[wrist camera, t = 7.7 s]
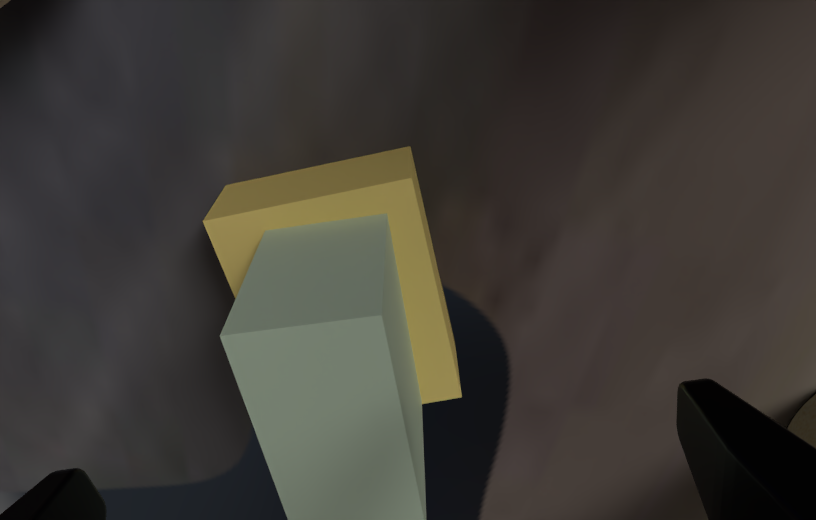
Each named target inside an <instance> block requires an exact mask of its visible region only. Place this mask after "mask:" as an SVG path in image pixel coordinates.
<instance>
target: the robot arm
mask: <svg viewBox="0 0 816 520" xmlns="http://www.w3.org/2000/svg"><path fill="white" fill-rule="evenodd" d="M677 431H678V436H679V440H680V443H681V445H682V448H683V451H684V453H685V456H686V459H687V462H688V464H689V467H690V470H691V472H692V475H693V478H694V481H695V483H696V486H697V489H698V492H699V494H700V497H701V500H702V502H703V505H704V508H705V511H706V513H707V516H708V519H709V520H816V448H815V447H813V446H812V445H810V444H809V443H807V442H806V441H804V440H803V439H801V438H800V437H798V436H797V435H795V434H794V433H792V432H791V431H789V430H788V429H786V428H785V427H783V426H782V425H780V424H779V423H777V422H776V421H774V420H773V419H771V418H770V417H768V416H767V415H765V414H764V413H762V412H760V411H759V410H757V409H756V408H754V407H753V406H751V405H750V404H748V403H747V402H745V401H744V400H742V399H741V398H739V397H738V396H736V395H735V394H733V393H732V392H730V391H729V390H727V389H726V388H724V387H723V386H721V385H720V384H718V383H717V382H715V381H713V380H711V379H698V380H691V381H684V382H682V383H680V384H679V387H678V392H677ZM0 520H106V505H105V502H104V500H103V498H102V497H101V495H100V494H99V492H98V491H97V489H96V488H95V486H94V485H93V483H92V482H91V480H90V479H89V477H88V476H87V474H86V473H85V472H84V471H83V470H81V469H78V468H73V469H66V470H59V471H55V472H52V473H51V474H49V475H48V476H46V477H45V478H44V479H43V480H42V481H40V482H39V483H38V484H37V485H36V486H34V487H33V488H32V489H31V490H30V491H28V492H27V493H26V494H25V495H23V496H22V497H21V498H20V499H19V500H17V501H16V502H15V503H14V504H13V505H11V506H10V507H9V508H8V509H7V510H5V511H4V512H3V513H2V514H1V515H0Z"/></svg>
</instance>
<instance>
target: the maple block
mask: <svg viewBox="0 0 816 520" xmlns="http://www.w3.org/2000/svg"><path fill="white" fill-rule="evenodd" d="M9 1H10V0H0V8H1V7H3V6H4V5H5V4H6V3H8V2H9Z"/></svg>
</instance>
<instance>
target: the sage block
mask: <svg viewBox="0 0 816 520" xmlns="http://www.w3.org/2000/svg"><path fill="white" fill-rule="evenodd" d="M220 338H221V341H222V344H223V346H224V349H225V352H226V354H227V357H228V360H229V363H230V365H231V368H232V371H233V373H234V376H235V379H236V381H237V384H238V387H239V389H240V392H241V395H242V397H243V400H244V403H245V406H246V408H247V411H248V414H249V416H250V419H251V422H252V424H253V427H254V430H255V432H256V435H257V438H258V441H259V443H260V446H261V448H262V451H263V454H264V457H265V459H266V462H267V465H268V467H269V470H270V473H271V475H272V478H273V481H274V484H275V486H276V489H277V492H278V494H279V497H280V499H281V502H282V505H283V508H284V511H285V513H286V516H287V518H288V520H426V499H425V474H424V449H423V422H422V400H421V395H420V389H419V384H418V378H417V373H416V367H415V362H414V357H413V351H412V346H411V340H410V335H409V329H408V324H407V319H406V313H405V308H404V302H403V297H402V291H401V286H400V281H399V275H398V270H397V264H396V259H395V253H394V248H393V243H392V237H391V232H390V226H389V221H388V216H387V213H386V214H379V215H371V216H364V217H357V218H350V219H343V220H336V221H329V222H322V223H315V224H308V225H301V226H294V227H287V228H280V229H273V230H266V231H265V232H264V234H263V237H262V239H261V241H260V244H259V246H258V248H257V251H256V253H255V255H254V258H253V260H252V262H251V265H250V267H249V269H248V271H247V274H246V276H245V278H244V281H243V283H242V285H241V288H240V290H239V292H238V295H237V297H236V299H235V302H234V304H233V306H232V309H231V311H230V313H229V316H228V318H227V320H226V323H225V325H224V327H223V329H222V332H221V334H220Z"/></svg>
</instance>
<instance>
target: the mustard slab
mask: <svg viewBox="0 0 816 520" xmlns="http://www.w3.org/2000/svg"><path fill="white" fill-rule="evenodd" d="M386 213H387V216H388V221H389V226H390V232H391V237H392V243H393V248H394V253H395V259H396V264H397V270H398V275H399V281H400V286H401V291H402V297H403V302H404V308H405V313H406V319H407V324H408V329H409V335H410V340H411V346H412V351H413V357H414V362H415V367H416V373H417V378H418V384H419V389H420V395H421V400H422V404H425V403H431V402H437V401H443V400H448V399H454V398H460V397H462V394H461V387H460V379H459V371H458V363H457V355H456V348H455V341H454V337H453V332H452V328H451V323H450V319H449V314H448V310H447V305H446V301H445V296H444V292H443V287H442V285H441V281H440V277H439V272H438V268H437V263H436V259H435V254H434V250H433V245H432V241H431V236H430V232H429V228H428V223H427V219H426V214H425V210H424V205H423V201H422V196H421V192H420V187H419V183H418V178H417V174H416V169H415V165H414V160H413V156H412V152H411V147H410V146H408V147H404V148H399V149H394V150H390V151H385V152H380V153H375V154H371V155H366V156H361V157H357V158H352V159H347V160H342V161H338V162H333V163H328V164H324V165H319V166H314V167H309V168H305V169H300V170H295V171H291V172H286V173H281V174H277V175H272V176H267V177H262V178H258V179H253V180H248V181H244V182H239V183H234V184H229V185H226V186H225V187H224V189H223V190H222V192H221V193H220V195H219V196H218V198H217V200H216V201H215V203H214V204H213V206H212V207H211V209H210V211H209V212H208V214H207V215H206V217H205V218H204V220H203V223H204V226H205V228H206V230H207V233H208V235H209V238H210V240H211V242H212V245H213V247H214V249H215V252H216V254H217V257H218V259H219V261H220V264H221V266H222V268H223V271H224V273H225V275H226V278H227V280H228V283H229V285H230V287H231V290H232V292H233V294H234V297H235V299H236V297H237V295H238V292H239V290H240V288H241V285H242V283H243V281H244V278H245V276H246V274H247V271H248V269H249V267H250V265H251V262H252V260H253V258H254V255H255V253H256V251H257V248H258V246H259V244H260V241H261V239H262V237H263V234H264V232H265V231H266V230H273V229H280V228H287V227H294V226H301V225H308V224H315V223H322V222H329V221H336V220H343V219H350V218H357V217H364V216H371V215H379V214H386Z"/></svg>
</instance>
